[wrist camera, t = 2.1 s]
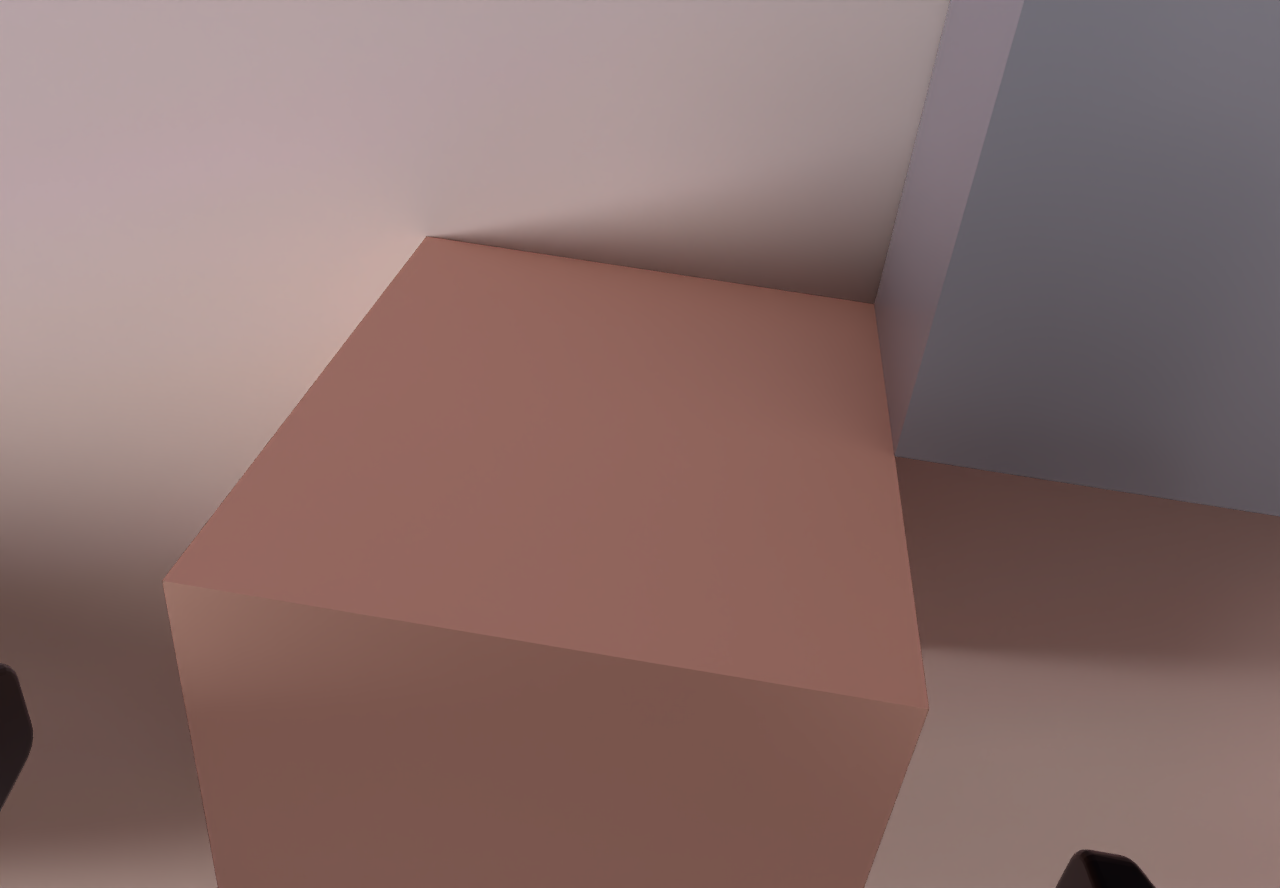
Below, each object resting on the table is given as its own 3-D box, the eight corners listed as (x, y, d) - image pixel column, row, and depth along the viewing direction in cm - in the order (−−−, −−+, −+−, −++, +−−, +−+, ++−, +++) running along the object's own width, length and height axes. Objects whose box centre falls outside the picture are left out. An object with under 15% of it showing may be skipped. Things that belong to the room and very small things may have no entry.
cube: (790, 635, 15) (785, 1100, 10) (428, 576, 15) (238, 999, 10) (874, 302, 12) (928, 708, 7) (427, 235, 12) (160, 580, 7)
